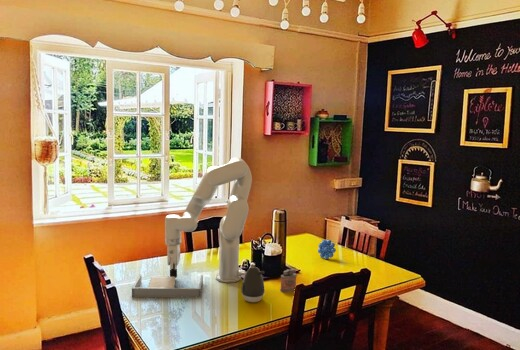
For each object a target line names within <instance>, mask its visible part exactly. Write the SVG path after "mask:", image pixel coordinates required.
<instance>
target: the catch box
mask: <svg viewBox="0 0 520 350" xmlns="http://www.w3.org/2000/svg"><path fill="white" fill-rule="evenodd" d="M203 280H204V275H203V274H202V275H200V280H199V285H198V287H174V288H148V287H140V286H141V285H142V274H139V275H138V277H137V279H136V280H135V282H134V284H133V285H132V287H131V298H132V297H133V298H196V299H197V298H201V295H202V289H203V283H204V281H203Z"/></svg>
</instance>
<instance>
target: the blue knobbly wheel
mask: <svg viewBox="0 0 520 350" xmlns="http://www.w3.org/2000/svg"><path fill="white" fill-rule="evenodd" d="M335 246H336V244H335V243H334V242H332V239H327V240H326V239H322V240H321V242H320V243H318V249H317V253H318V254H319V257H320V258H322V259H323V258H324V259H325V260H328V259H329V258H333V257H334V254H335V252H337V250H336V247H335Z"/></svg>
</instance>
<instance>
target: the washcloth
mask: <svg viewBox="0 0 520 350" xmlns="http://www.w3.org/2000/svg"><path fill="white" fill-rule="evenodd" d="M175 286H176V278H175V277H174V276H172V277H171V276H170V275H169V276H163V277H161V276H155V277H153V276H152V277H150V280H149V283H148V287H147V288H176V287H175Z"/></svg>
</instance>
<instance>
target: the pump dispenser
mask: <svg viewBox="0 0 520 350" xmlns="http://www.w3.org/2000/svg"><path fill="white" fill-rule="evenodd" d="M245 272H246V274H245V276H244V277H243V279H242V285H241V290H240V291H241V295H242V297H243V299H244V300H245V301H246V302H249V303H258V302H260V301H261V300H262V299H263V298H264V297H263V296H264V295H265V291H266V290H265V281H264V279H263V277H264V276H263V274H265V271H264V270H261V271H260V268H258V267H256V266H250V267H249V268H248V269H247V271H245Z"/></svg>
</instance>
